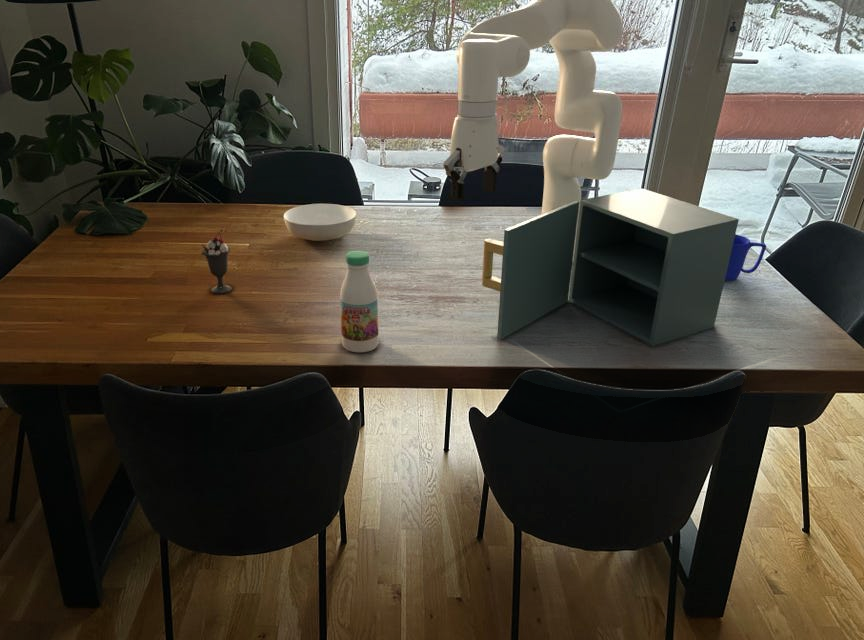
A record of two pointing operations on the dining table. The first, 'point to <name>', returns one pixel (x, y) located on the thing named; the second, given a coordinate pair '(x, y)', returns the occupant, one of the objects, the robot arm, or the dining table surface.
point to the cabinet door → (532, 267)
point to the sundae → (217, 262)
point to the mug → (741, 257)
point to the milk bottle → (359, 305)
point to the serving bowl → (320, 221)
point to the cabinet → (651, 263)
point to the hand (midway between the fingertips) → (473, 195)
